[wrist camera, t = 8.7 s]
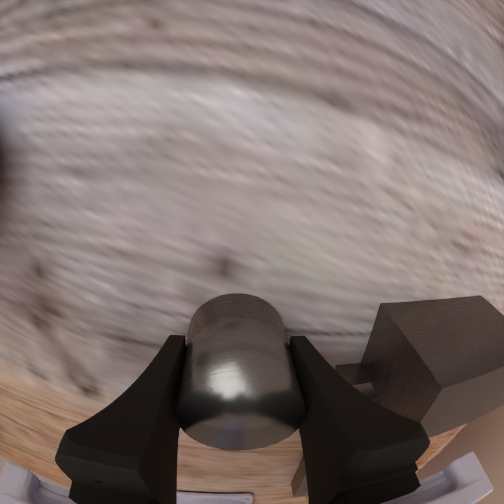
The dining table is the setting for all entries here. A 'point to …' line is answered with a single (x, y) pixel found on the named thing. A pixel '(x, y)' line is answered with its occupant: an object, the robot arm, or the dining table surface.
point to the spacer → (238, 376)
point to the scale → (430, 364)
